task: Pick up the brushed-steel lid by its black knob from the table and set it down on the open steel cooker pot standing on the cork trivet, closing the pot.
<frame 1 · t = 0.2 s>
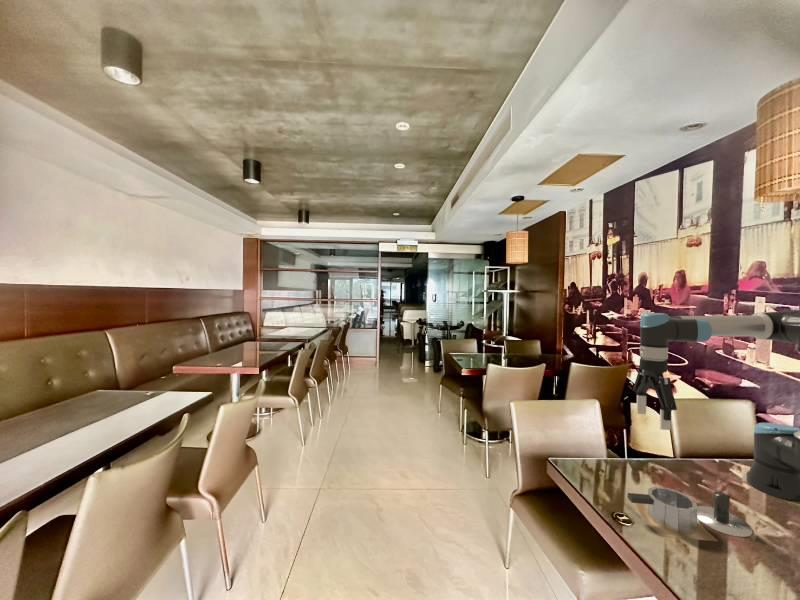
hand: (652, 421, 112), 27 cm above the table, fingers open, 13 cm apart
lid: (721, 523, 101), on the table
pot: (671, 520, 102), resting on trivet
trivet: (671, 522, 102), on the table
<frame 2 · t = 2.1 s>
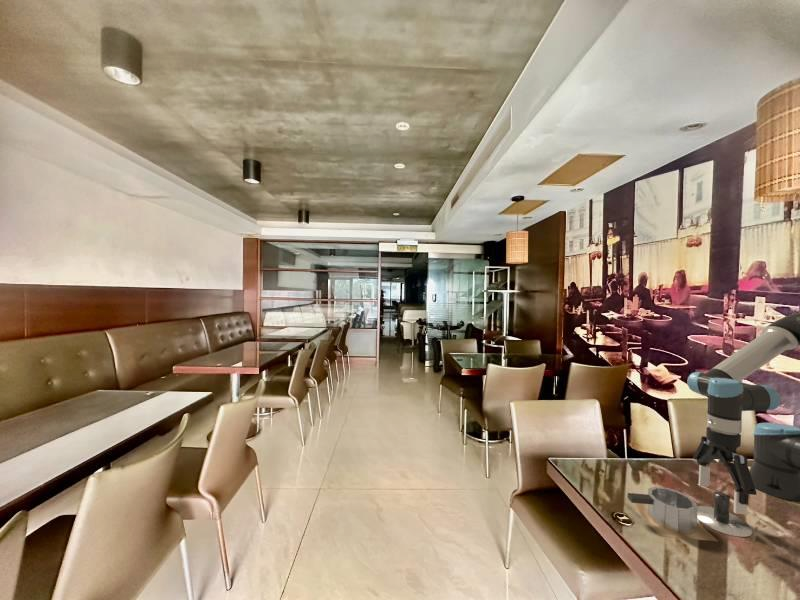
hand: (720, 498, 101), 8 cm above the table, fingers open, 13 cm apart
nothing on the table moved.
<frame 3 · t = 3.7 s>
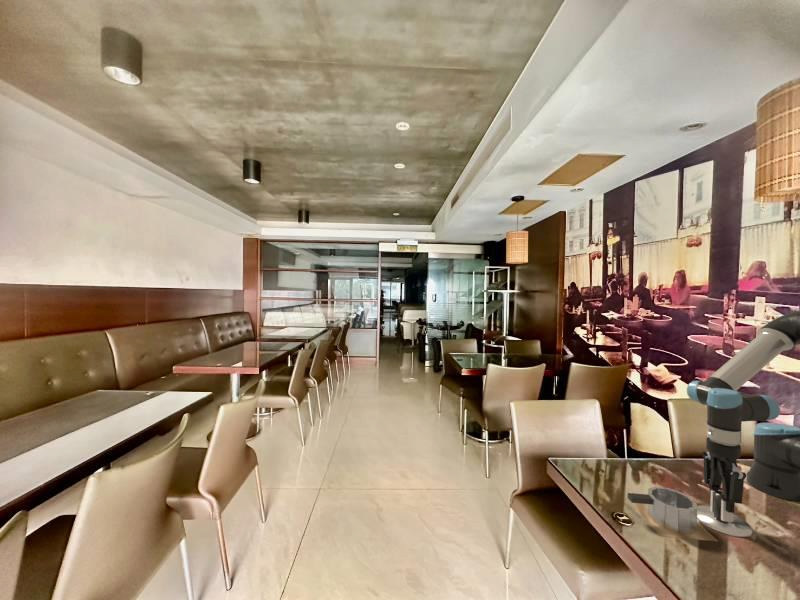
hand: (721, 516, 101), 2 cm above the table, fingers closed on lid, 3 cm apart
lid: (721, 523, 101), on the table, touching gripper
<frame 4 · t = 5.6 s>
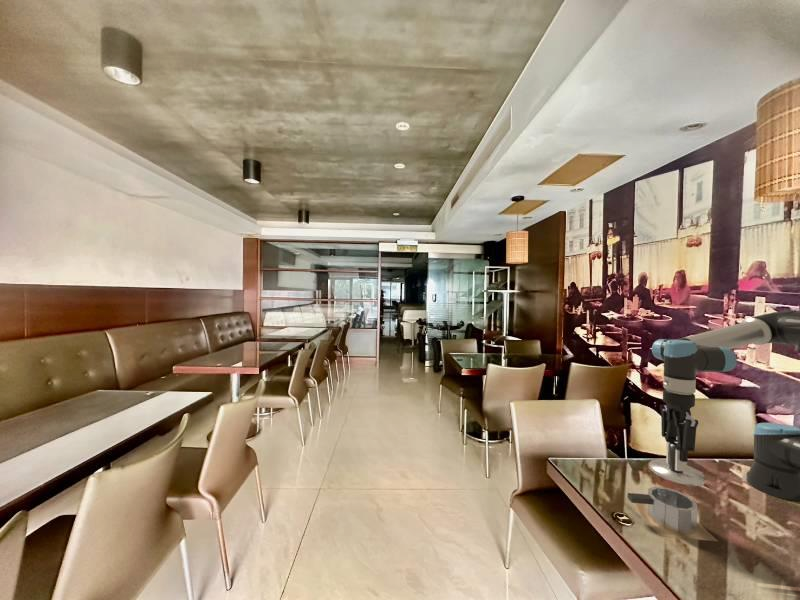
hand: (676, 466, 101), 17 cm above the table, fingers closed on lid, 3 cm apart
lid: (676, 473, 101), point 15 cm above the table, touching gripper
when the fingers open (11 cm above the table, at t = 7.3 s): lid drops 1 cm, resting on pot.
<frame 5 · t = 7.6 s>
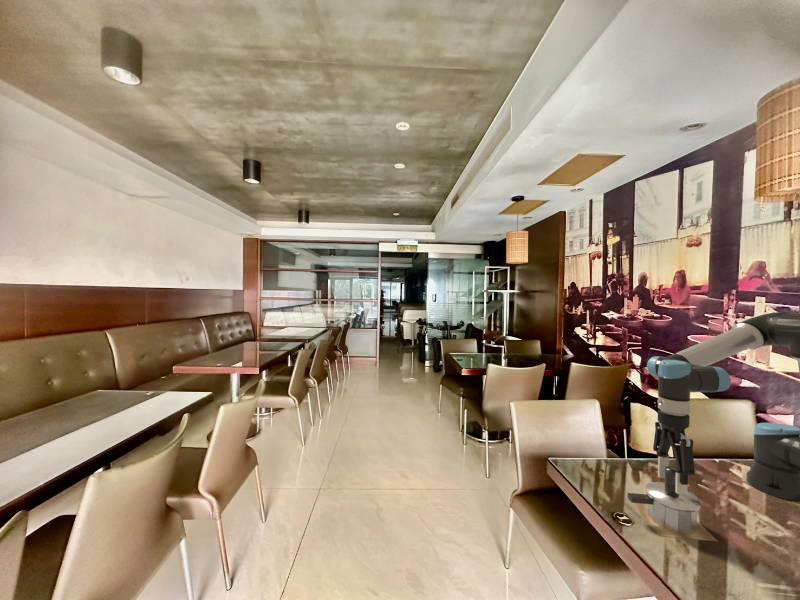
hand: (671, 485, 101), 12 cm above the table, fingers open, 8 cm apart
lid: (671, 498, 102), point 8 cm above the table, touching pot
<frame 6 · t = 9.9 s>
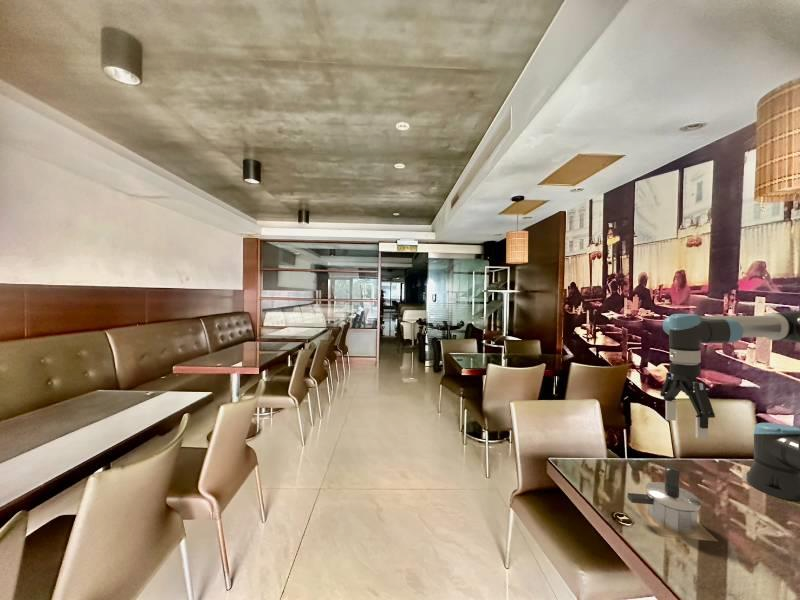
hand: (685, 428, 106), 27 cm above the table, fingers open, 13 cm apart
nothing on the table moved.
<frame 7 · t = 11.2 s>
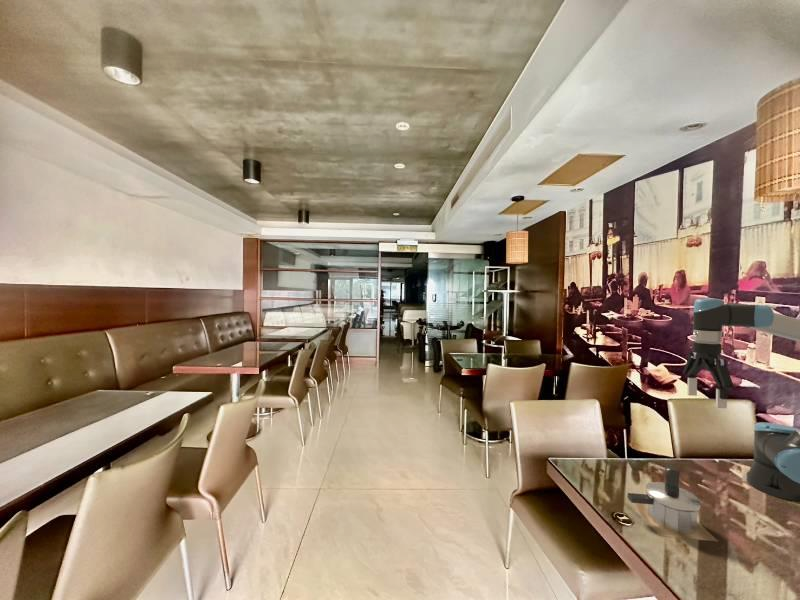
hand: (705, 401, 118), 32 cm above the table, fingers open, 13 cm apart
nothing on the table moved.
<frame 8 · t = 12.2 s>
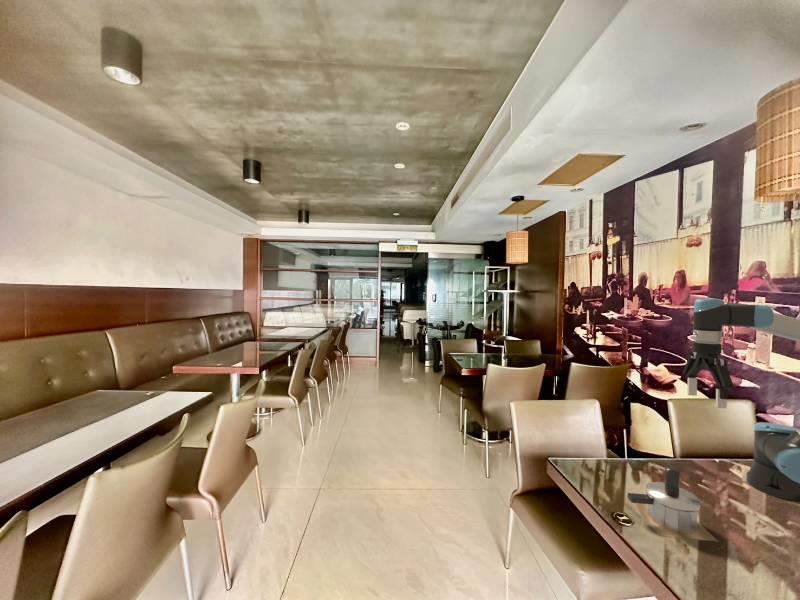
hand: (705, 401, 118), 32 cm above the table, fingers open, 13 cm apart
nothing on the table moved.
at the end: lid 0.0 cm off-centre on the pot, point 7.0 cm above the pot's base; lid tilted 0°; the gripper is holding nothing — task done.
